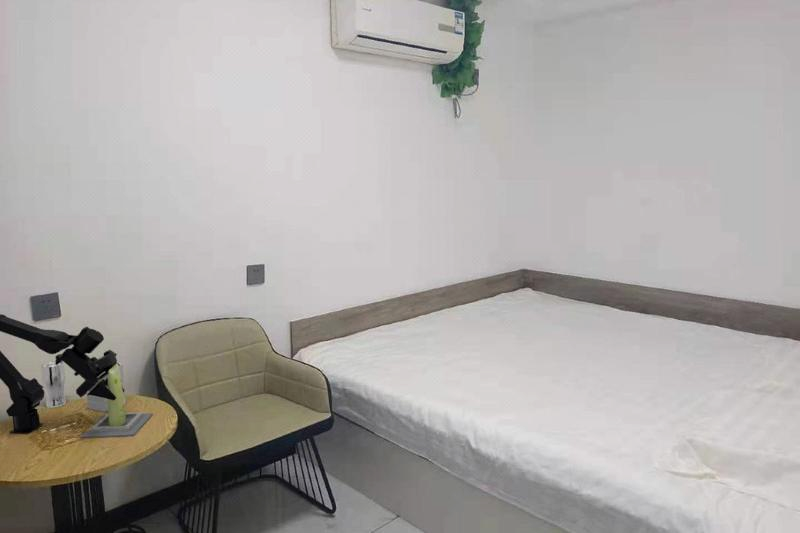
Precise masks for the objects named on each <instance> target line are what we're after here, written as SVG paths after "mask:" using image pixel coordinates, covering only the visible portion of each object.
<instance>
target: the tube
mask: <svg viewBox="0 0 800 533" xmlns="http://www.w3.org/2000/svg"><path fill="white" fill-rule="evenodd" d="M116 362H117V361H116ZM118 363H119V362H117V363H116V364H115V365H114V366H113V367H112V368H111V369H110V370H109V373H108V389H109V390H110V391H111V392H112V393H113V394H114V395H115V396H116V399H115V400H110V399H108V411H107V412H108V413H107V414H109V425H110V426H121V425H123V424H125V423H126V415H125V413H126V409H125V408H126V406H125V404H124V396H123V389H122V382H121V376H120V370H119V366H118Z"/></svg>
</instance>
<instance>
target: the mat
mask: <svg viewBox="0 0 800 533" xmlns="http://www.w3.org/2000/svg"><path fill="white" fill-rule="evenodd" d="M105 415H106V414H103V416H102V417H100V418H99V419H98V420H97V421H96V422H94V424H97V423H98V422H99V421H100V420H101V419H102V418H103V417H104V416H105ZM153 415H154V414H153V412H151V413H149V412H147V413H143V417H142V418H141V419H140V420H139V421H138V423H137V424H136V425H135V426H134V427H133V428H132V429H131V430H130V431H129V432H106V433H91V430H89V431H87V430H86V431H85V432H83V433H82V434H81V435H80V436H79V439H87V438H88V439H93V438H95V439H96V438H118V437H119V438H120V437H134V436H135V435H136V434H137V433H138V432H140V431H139V430H141V429H142V428H143V427H144V425H146V423H147V422H148V421H149V420H150V419H151V418H152V417H153ZM132 419H133V418H126V423H125V424H123V425H121V426H126V425H127V424H128V423H129V422H130V421H131V420H132ZM103 426H110V425H109V421H108V422H106V423H105V424H104V425H103Z"/></svg>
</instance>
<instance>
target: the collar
mask: <svg viewBox="0 0 800 533" xmlns="http://www.w3.org/2000/svg"><path fill="white" fill-rule="evenodd" d="M143 414H144V412H143V411H140V412H139V411H138V412H125V415H126V418H133V419H132V420H131V421H130V422H129V423H128V424H127V425H126V426H103V425H104V424H105V423H106V422H108V421H109V414H108V413H106V414H104V415H105V416H104V415H103V416H104V417H103V418H102V419H101V420H100V421H99V422H98V423H97V424H95V423H94V424H95V425H94V424H93V425H94V426H93V427H92V428H91V433H106V432H129V431H130V430H131V429H132V428H133V427H134V426H135V425H136V424H137V423H138V421H139V420H140V419H141V418H142V417H143Z"/></svg>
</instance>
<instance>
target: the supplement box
mask: <svg viewBox="0 0 800 533" xmlns="http://www.w3.org/2000/svg"><path fill="white" fill-rule="evenodd" d="M118 363H119V364H120V366H119V370H120V376H121V382H122V387H123V388H124V390H125V391H124V392H123V396H124V405H125V404H127V403H126V402H127V400H126V389H125V381H124V380H125V379H124V378H125V377H124V368H123V363H122V362H118ZM100 381H101V380H100ZM106 387H107V386H106ZM107 388H108V387H107ZM89 392H90V391H87V392H86V394H85V395H86V406H87V409H90V410H94V411H99V412H102V413H105V412H106V413H107V412H108V399H106V398H102V397H97V396H92V395H89V396H88V395H87V394H88V393H89Z"/></svg>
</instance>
